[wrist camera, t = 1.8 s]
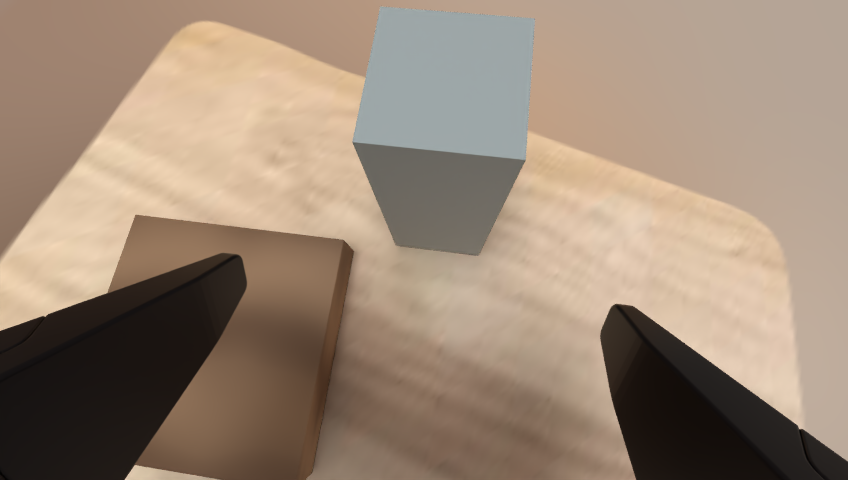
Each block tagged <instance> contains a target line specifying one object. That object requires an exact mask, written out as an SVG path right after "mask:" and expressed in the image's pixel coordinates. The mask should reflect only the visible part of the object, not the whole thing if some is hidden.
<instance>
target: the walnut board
mask: <svg viewBox="0 0 848 480" xmlns="http://www.w3.org/2000/svg"><path fill="white" fill-rule="evenodd" d="M224 252H225V253H233V254H238V255H240V256H241V257H242V260H243V264H244V268H245V273H246V278H247V288H246V291H245V293H244V295H243V296H242V298H241V300H240V302H239V304H238V306H237V308H236V310H235V311H234V313H233V315H232V317H231V319H230V321H229V323H228V325H227V326H226V328H225V330H224V332H223V334H222V336H221V337H220V339H219V341H218V342H217V344H216V346H215V347H214V349H213V350H212V352H211V353H210V355H209V356H208V358H207V359H206V361H205V362H204V363H203V365H202V366H201V368H200V369H199V371H198V372H197V374H196V375H195V377H194V378H193V380H192V381H191V383H190V384H189V386H188V387H187V389H186V390H185V391H184V393H183V394H182V396H181V397H180V399H179V400H178V402H177V403H176V405H175V406H174V408H173V409H172V411H171V412H170V414H169V415H168V416H167V418H166V419H165V421H164V422H163V424H162V425H161V427H160V428H159V430H158V431H157V433H156V434H155V436H154V437H153V439H152V440H151V442H150V443H149V444H148V446H147V447H146V449H145V450H144V452H143V453H142V455H141V456H140V458H139V459H138V461H137V462H136V464H135V465H138V466H144V467H150V468H156V469H162V470H168V471H174V472H180V473H186V474H191V475H197V476H203V477H209V478H215V479H221V480H306V479H307V477H308V476H309V475H310V474H311V473H312V470H313V464H314V459H315V454H316V448H317V443H318V438H319V433H320V427H321V422H322V417H323V411H324V406H325V401H326V395H327V390H328V385H329V380H330V374H331V369H332V364H333V358H334V353H335V348H336V342H337V337H338V332H339V327H340V321H341V316H342V311H343V305H344V300H345V295H346V289H347V284H348V279H349V274H350V268H351V263H352V258H353V252H354V251H353V250H352V249H351V247H350V246H349V245H348V244H347V243H346V242H345V241H344V240H339V239H331V238H323V237H314V236H306V235H298V234H290V233H281V232H273V231H265V230H257V229H249V228H240V227H232V226H224V225H216V224H207V223H199V222H191V221H183V220H175V219H166V218H158V217H150V216H142V215H135V218H134V221H133V223H132V226H131V229H130V232H129V235H128V237H127V240H126V243H125V246H124V249H123V251H122V254H121V257H120V260H119V262H118V265H117V268H116V271H115V274H114V276H113V279H112V282H111V285H110V287H109V290H108V293H109V292H112V291H115V290H118V289H121V288H124V287H126V286H129V285H132V284H135V283H138V282H141V281H143V280H146V279H149V278H152V277H155V276H157V275H160V274H163V273H166V272H169V271H172V270H174V269H177V268H180V267H183V266H186V265H188V264H191V263H194V262H197V261H200V260H203V259H205V258H208V257H211V256H214V255H217V254H219V253H224Z"/></svg>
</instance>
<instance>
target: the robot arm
mask: <svg viewBox="0 0 848 480" xmlns="http://www.w3.org/2000/svg"><path fill="white" fill-rule="evenodd" d="M246 288H247V278H246V273H245V268H244V264H243V260H242V257H241V256H240V255H238V254H233V253H225V252H224V253H219V254H217V255H214V256H211V257H208V258H205V259H203V260H200V261H197V262H194V263H191V264H188V265H186V266H183V267H180V268H177V269H174V270H172V271H169V272H166V273H163V274H160V275H157V276H155V277H152V278H149V279H146V280H143V281H141V282H138V283H135V284H132V285H129V286H126V287H124V288H121V289H118V290H115V291H112V292H109V293H107V294H104V295H101V296H98V297H95V298H93V299H90V300H87V301H84V302H81V303H78V304H76V305H73V306H70V307H67V308H64V309H62V310H59V311H56V312H53V313H50V314H48V315H47V316H46V317H45V316H42V317H39V318H36V319H33V320H30V321H27V322H25V323H22V324H19V325H16V326H13V327H10V328H7V329H4V330H2V331H0V480H125V478H126V477H127V475H128V474H129V472H130V471H131V469H132V468H133V467H134V465H135V464H136V462H137V461H138V459H139V458H140V456H141V455H142V453H143V452H144V450H145V449H146V447H147V446H148V444H149V443H150V442H151V440H152V439H153V437H154V436H155V434H156V433H157V431H158V430H159V428H160V427H161V425H162V424H163V422H164V421H165V419H166V418H167V416H168V415H169V414H170V412H171V411H172V409H173V408H174V406H175V405H176V403H177V402H178V400H179V399H180V397H181V396H182V394H183V393H184V391H185V390H186V389H187V387H188V386H189V384H190V383H191V381H192V380H193V378H194V377H195V375H196V374H197V372H198V371H199V369H200V368H201V366H202V365H203V363H204V362H205V361H206V359H207V358H208V356H209V355H210V353H211V352H212V350H213V349H214V347H215V346H216V344H217V342H218V341H219V339H220V337H221V336H222V334H223V332H224V330H225V328H226V326H227V325H228V323H229V321H230V319H231V317H232V315H233V313H234V311H235V310H236V308H237V306H238V304H239V302H240V300H241V298H242V296H243V295H244V293H245V291H246ZM600 339H601V345H602V350H603V356H604V361H605V366H606V372H607V377H608V382H609V388H610V393H611V397H612V402H613V405H614V409H615V412H616V415H617V419H618V422H619V425H620V428H621V432H622V435H623V438H624V441H625V445H626V448H627V451H628V454H629V458H630V461H631V464H632V467H633V471H634V474H635V477H636V480H848V461H846V460H845V459H843V458H842V457H841V456H839V455H838V454H836V453H835V452H834V451H832V450H831V449H829V448H828V447H827V446H825V445H824V444H822V443H821V442H820V441H818V440H817V439H816V438H814V437H813V436H811V435H810V434H809V433H807V432H806V431H805V430H803V429H799V427H798V426H797V425H796V424H795V423H794V422H792V421H791V420H789V419H788V418H787V417H785V416H784V415H783V414H781V413H780V412H778V411H777V410H776V409H774V408H773V407H771V406H770V405H769V404H767V403H766V402H765V401H763V400H762V399H760V398H759V397H758V396H756V395H755V394H754V393H752V392H751V391H749V390H748V389H747V388H745V387H744V386H743V385H741V384H740V383H738V382H737V381H736V380H734V379H733V378H732V377H730V376H729V375H727V374H726V373H725V372H723V371H722V370H721V369H719V368H718V367H716V366H715V365H714V364H712V363H711V362H709V361H708V360H707V359H705V358H704V357H703V356H701V355H700V354H698V353H697V352H696V351H694V350H693V349H692V348H690V347H689V346H687V345H686V344H685V343H683V342H682V341H681V340H679V339H678V338H676V337H675V336H674V335H672V334H671V333H670V332H668V331H667V330H665V329H664V328H663V327H661V326H660V325H659V324H657V323H656V322H654V321H653V320H652V319H650V318H649V317H648V316H646V315H645V314H643V313H642V312H641V311H639V310H638V309H637V308H635V307H633V306H629V305H622V304H615V305H613V306H612V307H611V309H610V311H609V313H608V315H607V318H606V320H605V322H604V325H603V327H602V330H601V335H600Z"/></svg>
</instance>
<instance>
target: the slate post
mask: <svg viewBox="0 0 848 480" xmlns="http://www.w3.org/2000/svg"><path fill="white" fill-rule="evenodd" d="M534 24H535V19H533V18H521V17H508V16H495V15H483V14H482V15H481V14H470V13H457V12H444V11H430V10H417V9H405V8H392V7H380V11H379V16H378V21H377V26H376V30H375V35H374V40H373V45H372V50H371V55H370V60H369V64H368V69H367V74H366V79H365V84H364V89H363V93H362V98H361V103H360V108H359V113H358V118H357V122H356V127H355V132H354V137H353V145H354V147H355V149H356V152H357V154H358V156H359V159H360V161H361V164H362V166H363V168H364V171H365V173H366V175H367V178H368V180H369V183H370V185H371V187H372V190H373V192H374V194H375V197H376V199H377V202H378V204H379V206H380V209H381V211H382V213H383V216H384V218H385V221H386V223H387V225H388V228H389V230H390V232H391V235H392V237H393V240H394V242H395V244H396V246H403V247H411V248H420V249H428V250H436V251H444V252H453V253H461V254H469V255H477V256H478V255H479V253H480V251H481V249H482V247H483V245H484V243H485V241H486V239H487V237H488V235H489V233H490V231H491V229H492V227H493V225H494V223H495V221H496V219H497V217H498V215H499V213H500V211H501V209H502V207H503V205H504V203H505V201H506V199H507V197H508V194H509V192H510V190H511V188H512V186H513V184H514V182H515V180H516V178H517V176H518V174H519V172H520V170H521V168H522V166H523V164H524V162H525V160H526V146H527V131H528V116H529V114H528V113H529V100H530V85H531V70H532V54H533V40H534Z"/></svg>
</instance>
